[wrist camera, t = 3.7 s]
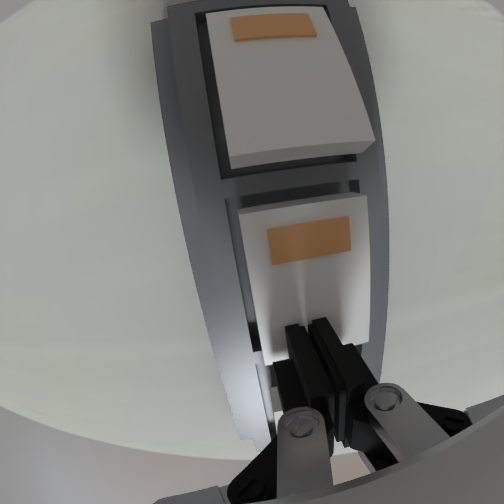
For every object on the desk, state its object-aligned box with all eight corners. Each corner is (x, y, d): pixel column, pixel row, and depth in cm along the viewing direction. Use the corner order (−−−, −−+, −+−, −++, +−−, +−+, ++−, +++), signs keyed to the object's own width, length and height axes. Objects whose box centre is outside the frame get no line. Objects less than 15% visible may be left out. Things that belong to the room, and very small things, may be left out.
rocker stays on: (361, 152, 9) (377, 138, 8) (231, 169, 9) (229, 154, 8) (316, 25, 9) (323, 4, 8) (208, 33, 9) (205, 10, 8)
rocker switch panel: (362, 386, 19) (381, 420, 16) (238, 413, 19) (242, 453, 15) (337, 25, 12) (364, -2, 8) (161, 41, 12) (144, 12, 8)
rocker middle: (358, 327, 13) (370, 343, 11) (261, 348, 13) (265, 367, 11) (353, 191, 11) (368, 196, 10) (237, 209, 11) (239, 215, 9)
